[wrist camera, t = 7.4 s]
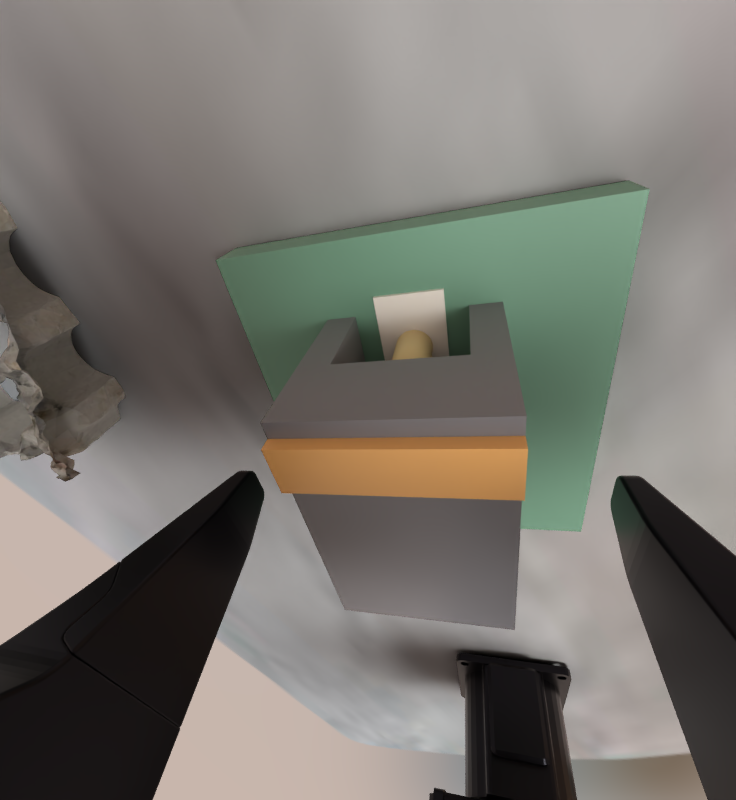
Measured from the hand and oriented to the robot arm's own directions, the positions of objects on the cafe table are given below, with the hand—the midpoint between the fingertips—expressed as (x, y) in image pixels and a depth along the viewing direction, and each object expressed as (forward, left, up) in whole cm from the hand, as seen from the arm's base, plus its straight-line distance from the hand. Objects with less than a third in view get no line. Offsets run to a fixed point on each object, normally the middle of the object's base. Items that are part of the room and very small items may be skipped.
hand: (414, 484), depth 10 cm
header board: (0, 0, -4) cm, 4 cm away
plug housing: (0, 0, -3) cm, 3 cm away
